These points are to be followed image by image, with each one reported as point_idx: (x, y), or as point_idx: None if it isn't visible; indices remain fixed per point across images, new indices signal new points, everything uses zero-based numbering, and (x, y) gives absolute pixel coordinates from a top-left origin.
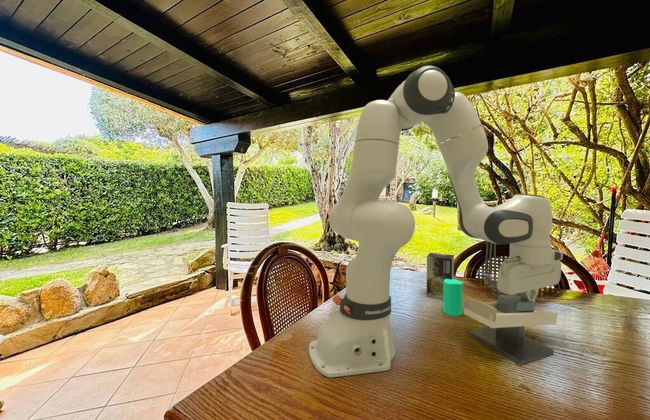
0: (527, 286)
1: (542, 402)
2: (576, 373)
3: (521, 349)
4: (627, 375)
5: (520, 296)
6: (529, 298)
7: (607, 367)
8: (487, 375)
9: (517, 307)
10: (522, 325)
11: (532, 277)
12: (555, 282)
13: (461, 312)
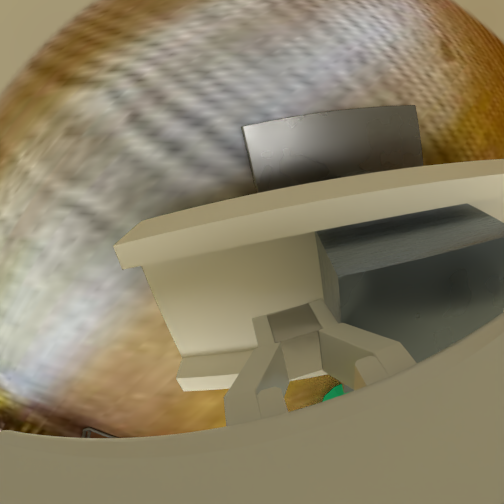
0: (500, 367)
1: (440, 13)
2: (267, 30)
3: (366, 153)
4: (110, 16)
5: (83, 437)
6: (340, 331)
7: (123, 48)
8: (484, 111)
9: (491, 220)
10: (428, 165)
11: (487, 496)
12: (13, 447)
13: (340, 390)
